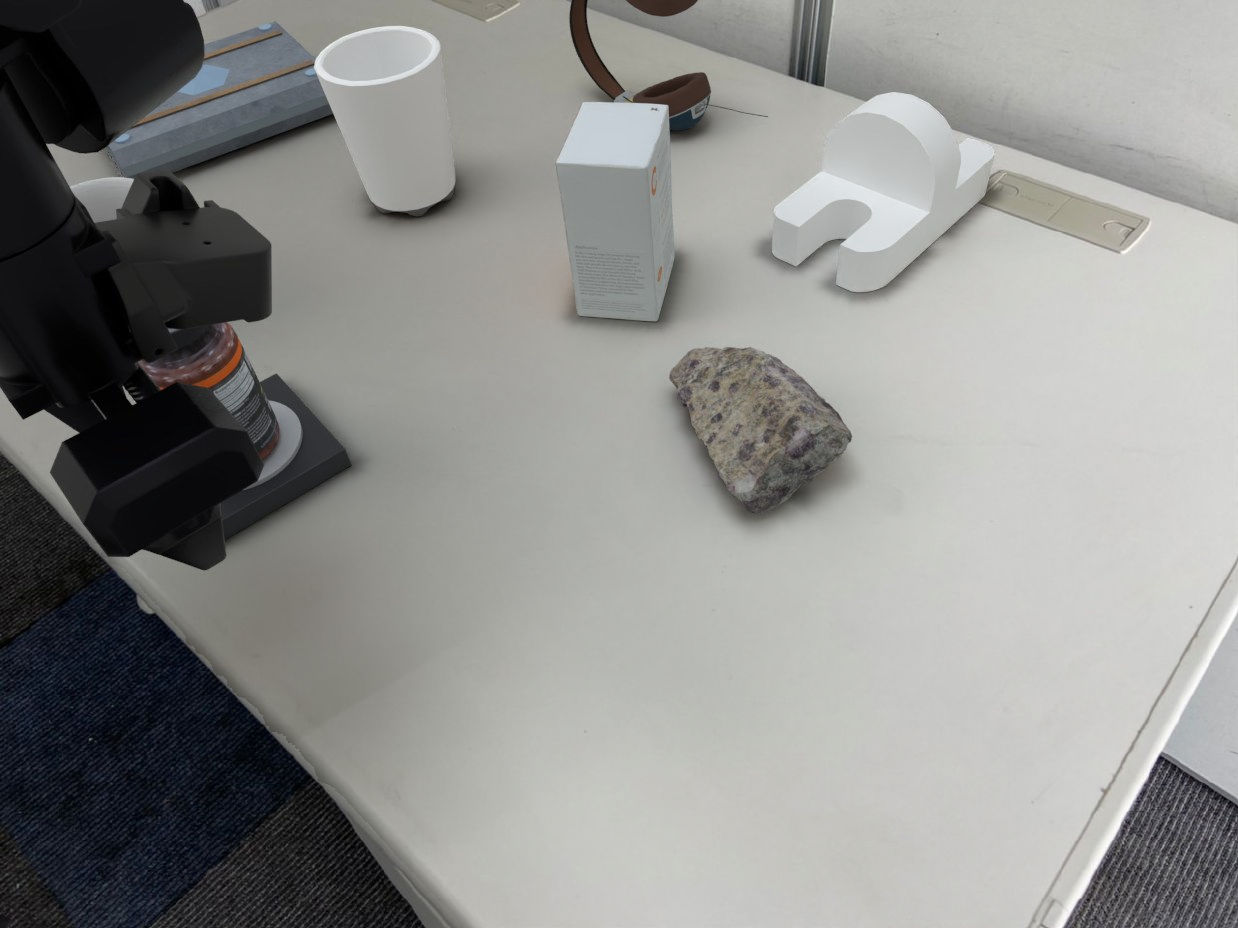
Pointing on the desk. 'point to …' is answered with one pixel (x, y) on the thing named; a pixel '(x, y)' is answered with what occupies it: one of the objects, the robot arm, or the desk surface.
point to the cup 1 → (103, 196)
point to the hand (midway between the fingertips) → (172, 505)
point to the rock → (758, 422)
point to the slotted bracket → (883, 191)
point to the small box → (618, 208)
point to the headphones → (679, 93)
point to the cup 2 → (392, 114)
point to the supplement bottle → (220, 378)
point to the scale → (286, 460)
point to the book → (227, 103)
